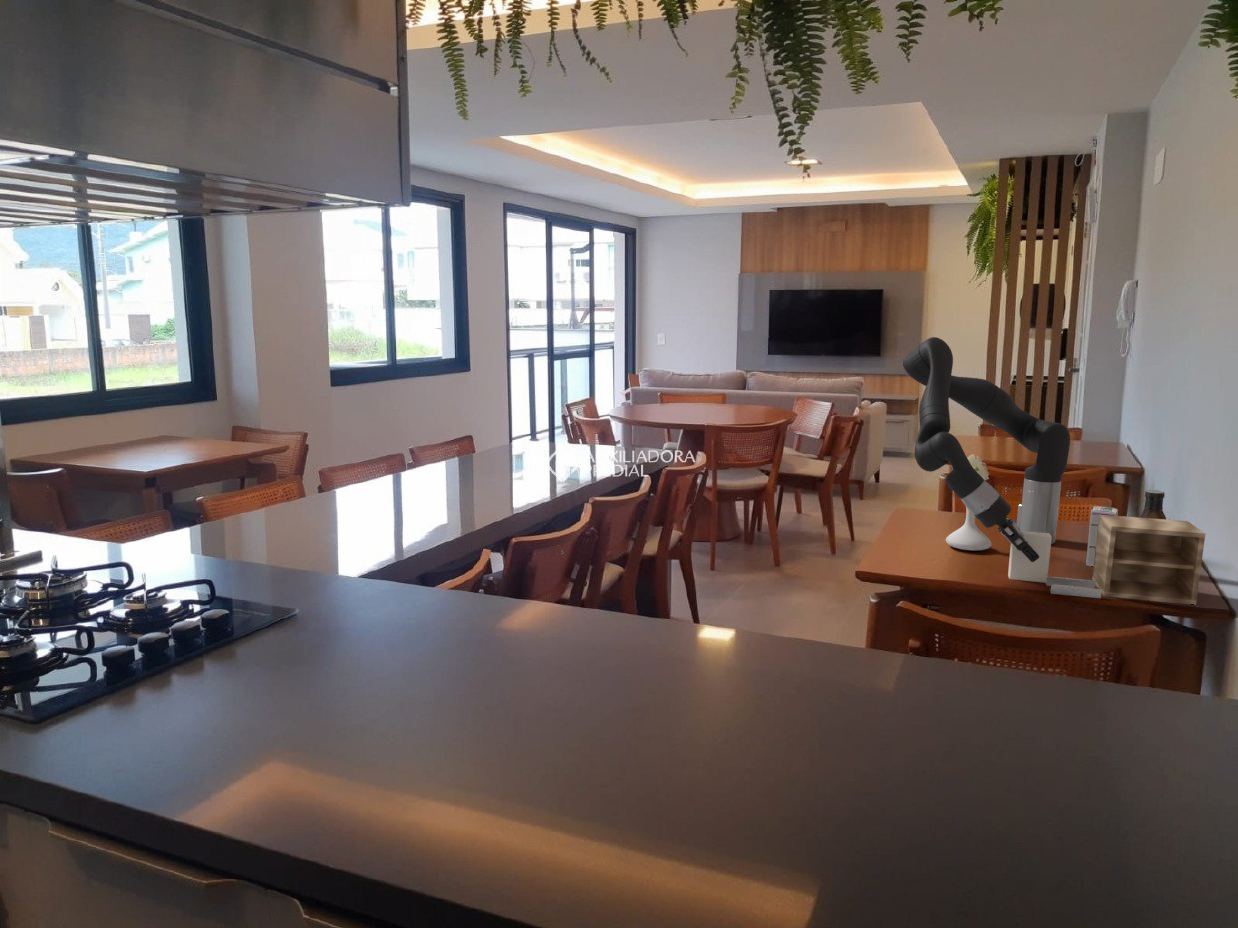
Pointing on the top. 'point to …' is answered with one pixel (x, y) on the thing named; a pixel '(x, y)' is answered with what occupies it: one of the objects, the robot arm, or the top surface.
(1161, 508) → the sauce bottle
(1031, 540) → the white rectangular block
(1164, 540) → the carcass
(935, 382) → the robot arm
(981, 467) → the flower in vase
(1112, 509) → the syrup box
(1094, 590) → the grey slotted stand
